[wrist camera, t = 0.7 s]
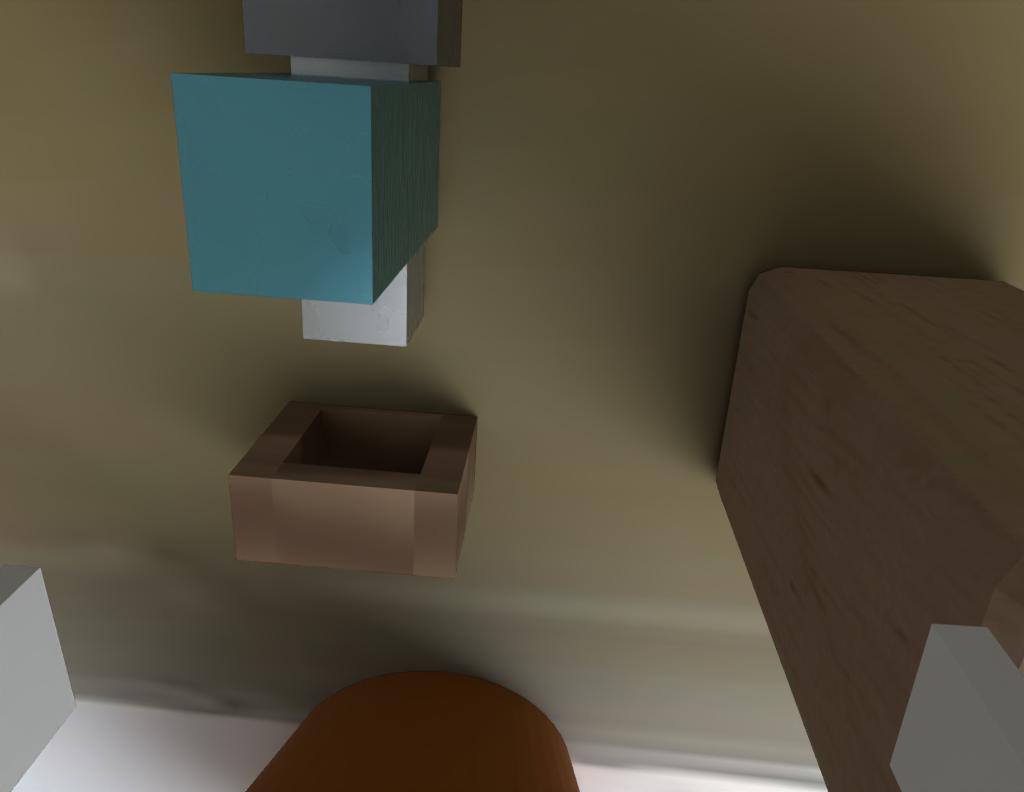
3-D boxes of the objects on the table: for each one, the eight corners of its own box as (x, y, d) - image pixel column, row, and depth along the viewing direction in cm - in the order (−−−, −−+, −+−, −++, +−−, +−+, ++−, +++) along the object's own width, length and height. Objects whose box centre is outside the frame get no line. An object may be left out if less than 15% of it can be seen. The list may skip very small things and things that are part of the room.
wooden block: (707, 489, 33) (884, 1006, 15) (747, 259, 29) (1050, 572, 11) (945, 507, 33) (1427, 1060, 15) (1016, 276, 29) (1798, 631, 11)
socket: (289, 401, 33) (228, 475, 27) (477, 416, 33) (457, 494, 27) (293, 474, 34) (236, 559, 28) (474, 489, 34) (454, 578, 28)
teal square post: (298, -312, 23) (103, -592, 13) (449, -305, 23) (364, -583, 13) (320, 308, 30) (206, 419, 21) (435, 317, 30) (374, 432, 20)
